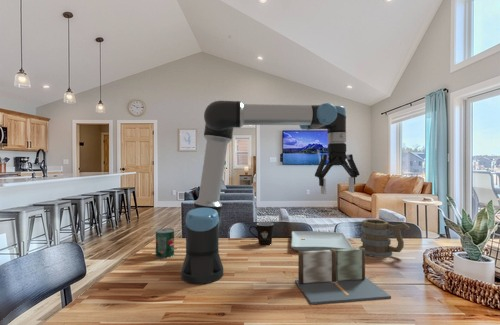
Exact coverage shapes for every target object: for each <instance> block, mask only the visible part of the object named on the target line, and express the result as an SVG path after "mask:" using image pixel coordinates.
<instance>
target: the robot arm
mask: <svg viewBox="0 0 500 325" xmlns="http://www.w3.org/2000/svg"><path fill="white" fill-rule="evenodd" d="M203 118H204V122H205V123H204V124H205V125H204V131H203V132H204V133H203V138H204V139H205V140H206V144H205V150H204V152H205V153H204V158H203V165H202V172H201V178H200V186H199V191H198V194H199V195H198V198H197V199H196V200H195V201H193V209H190V210H189V211H188V212H187V213H186V214H185V220H184V222H185V256H184V259H183V263H182V266H181V270H180V278H181V280H182V281H184V282H186V283H189V284H197V285H199V284H201V285H202V284H208V283H213V282H215V281H218V280H220V279H221V278H222V277H223V276H224V266H223V262H222V260H221V257H220V253H219V252H220V251H219V231H220V226H221V221H222V211H223V210H222V209H223V204H222V202H221V201H220V200H221V191H222V185H223V178H224V170H225V163H226V155H227V150H228V144H229V143H230V142H232V140H233V133H234V128H236V129H240V128H242V127H243V126H299V128H300V129H301V130H308V131H309V130H327V132H326V133H327V143H328V144H327V154H321V155H320V161H319V164H318V167H317V168H316V171H315V173H314V177H316V178H317V179H318V184H319V187H320V194H322V195H326V194H327V188H326V186H327V181H326V180H327V179H326V178H325V177H326V176H327V174H328V172H329V171H330V170H331V168H332V167H333V166H341V167H343V169H344V170H345V171H346V173H347V174H348V175H349V177H348V192H349V193H351V194H353V193H355V185H356V178H357V177H358V176H360V171H359V170H358V167H357V165H356V163H355V161H354V157H353V154H346V153H347V144H346V142H347V111H346V108H345V107H344V106H342V105H334V104H332V103H331V102H325V103H322V104H318V105H317V104H313V105H311V104H265V103H264V104H263V103H262V104H257V103H256V104H255V103H253V104H252V103H249V104H248V103H243V102H242V101H239V100H235V101H234V100H215V101H212V102H211V103H209V104H208V105H207V106H206V107H205V110H204V114H203ZM346 160H347V161H346Z"/></svg>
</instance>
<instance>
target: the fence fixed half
mask: <svg viewBox="0 0 500 325" xmlns="http://www.w3.org/2000/svg"><path fill="white" fill-rule="evenodd" d="M297 254H298V256H297V258H298V261H297V263H298V275H297V276H298V279H297V280H298V283H299V284H304V283H312V282H327V281H331V282H336V250H335V249H330V250H319V251H297Z"/></svg>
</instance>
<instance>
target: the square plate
mask: <svg viewBox="0 0 500 325" xmlns="http://www.w3.org/2000/svg"><path fill="white" fill-rule="evenodd" d="M301 239H305V240H301ZM290 246H291V248H292V250H294V251H297V252H298V251H319V250H330V249H335V250H339V249H355V248H354V247H353V246H352V244H351V242H350V241H349V239H348V238H347V236H346V235H345V233H343V232H333V231H331V232H330V231H317V230H316V231H313V230H312V231H303V230H302V231H300V230H299V231H297V230H296V231H293V230H292V231H291V241H290Z"/></svg>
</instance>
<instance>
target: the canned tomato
mask: <svg viewBox="0 0 500 325" xmlns="http://www.w3.org/2000/svg"><path fill="white" fill-rule="evenodd" d="M173 255H174V256H175V229H174V228H167V227H166V228H158V229H156V230H155V258H157V257H158V258H157V259H168V258H167V257H169V258H172V257H174V256H173ZM171 256H172V257H171Z"/></svg>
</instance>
